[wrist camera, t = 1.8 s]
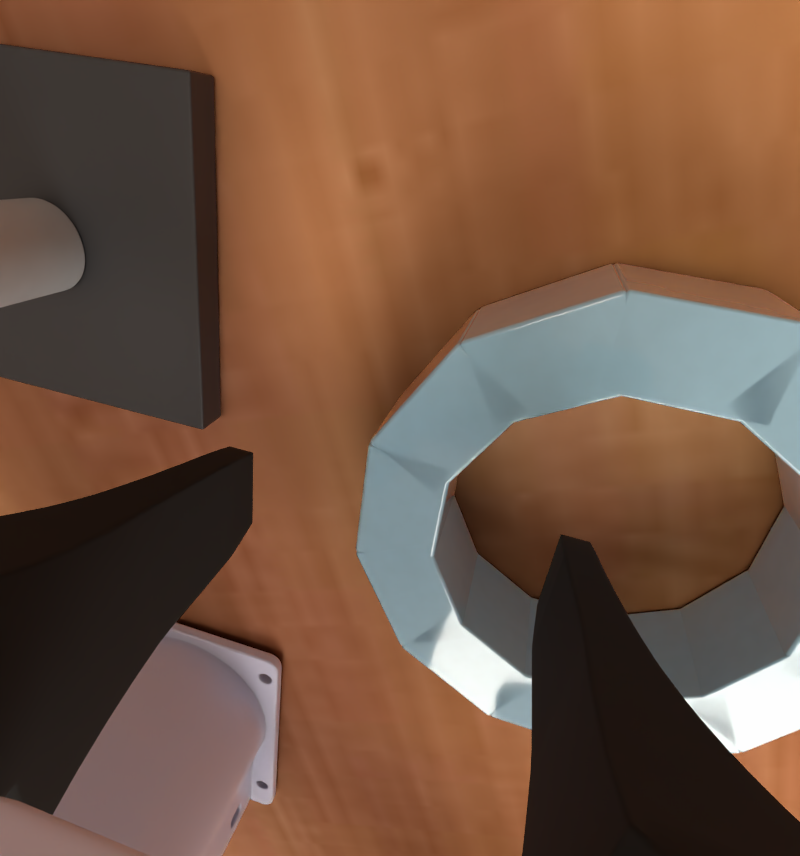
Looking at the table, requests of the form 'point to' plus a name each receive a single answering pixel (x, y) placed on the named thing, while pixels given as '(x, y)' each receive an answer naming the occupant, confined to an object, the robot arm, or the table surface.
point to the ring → (567, 388)
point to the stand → (109, 232)
